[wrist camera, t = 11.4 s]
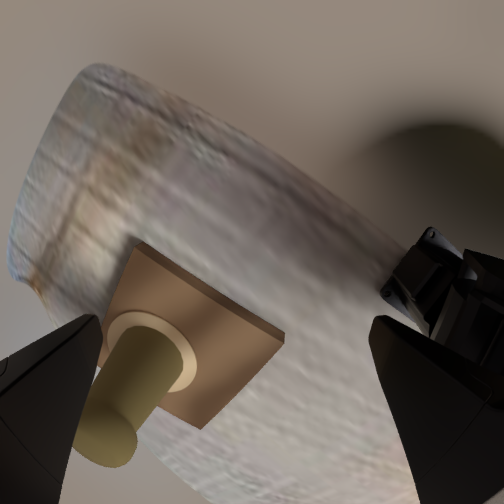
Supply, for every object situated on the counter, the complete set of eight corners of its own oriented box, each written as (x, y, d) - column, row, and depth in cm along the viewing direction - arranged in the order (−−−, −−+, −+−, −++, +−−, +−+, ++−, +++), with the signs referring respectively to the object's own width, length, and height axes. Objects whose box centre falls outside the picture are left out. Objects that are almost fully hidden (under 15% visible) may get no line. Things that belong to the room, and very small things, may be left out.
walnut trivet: (284, 332, 23) (284, 345, 21) (204, 419, 27) (199, 431, 25) (143, 241, 22) (132, 248, 20) (97, 351, 26) (88, 361, 25)
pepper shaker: (164, 392, 24) (115, 486, 14) (110, 353, 24) (43, 434, 13) (196, 357, 22) (145, 468, 12) (135, 311, 22) (52, 402, 11)
